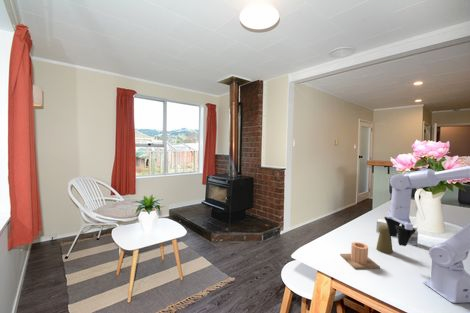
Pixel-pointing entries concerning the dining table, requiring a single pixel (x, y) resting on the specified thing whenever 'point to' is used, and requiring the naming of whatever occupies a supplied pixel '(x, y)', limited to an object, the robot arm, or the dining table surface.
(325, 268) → the dining table surface
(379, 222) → the white beige cube
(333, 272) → the dining table surface
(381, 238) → the olive flared column
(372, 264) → the plate
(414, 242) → the pill bottle
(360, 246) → the wooden slatted pot
